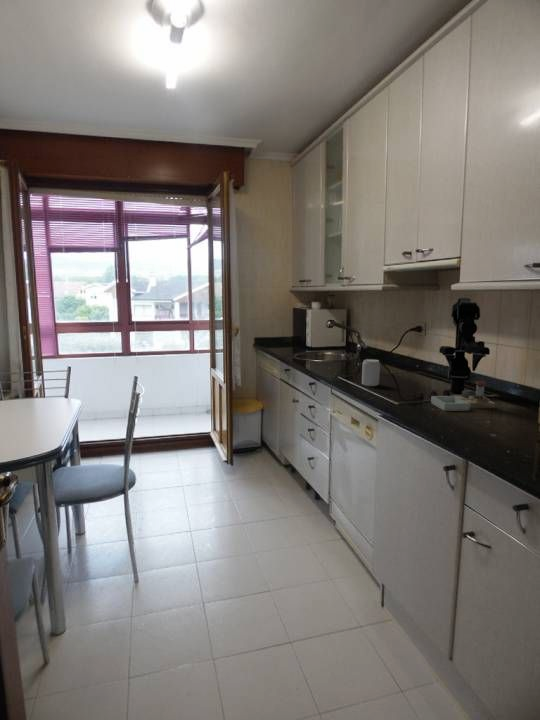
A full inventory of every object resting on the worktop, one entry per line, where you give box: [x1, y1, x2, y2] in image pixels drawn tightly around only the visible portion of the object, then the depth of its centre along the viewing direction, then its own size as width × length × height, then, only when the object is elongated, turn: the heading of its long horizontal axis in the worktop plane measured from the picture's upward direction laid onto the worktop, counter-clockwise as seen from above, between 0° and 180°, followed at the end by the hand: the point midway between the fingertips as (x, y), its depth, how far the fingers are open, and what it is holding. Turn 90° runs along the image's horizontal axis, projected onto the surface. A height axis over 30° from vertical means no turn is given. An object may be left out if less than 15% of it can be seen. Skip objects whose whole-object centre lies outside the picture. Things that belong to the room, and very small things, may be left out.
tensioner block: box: [453, 389, 496, 409], centre depth 183 cm, size 14×10×5 cm
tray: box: [430, 395, 471, 412], centre depth 178 cm, size 12×10×3 cm
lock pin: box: [474, 380, 487, 399], centre depth 178 cm, size 4×4×8 cm
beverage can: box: [361, 358, 381, 387], centre depth 215 cm, size 8×8×12 cm
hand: (462, 371), depth 185 cm, fingers open, 9 cm apart
